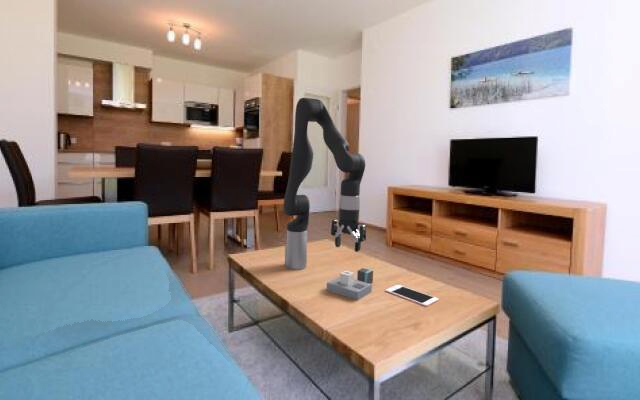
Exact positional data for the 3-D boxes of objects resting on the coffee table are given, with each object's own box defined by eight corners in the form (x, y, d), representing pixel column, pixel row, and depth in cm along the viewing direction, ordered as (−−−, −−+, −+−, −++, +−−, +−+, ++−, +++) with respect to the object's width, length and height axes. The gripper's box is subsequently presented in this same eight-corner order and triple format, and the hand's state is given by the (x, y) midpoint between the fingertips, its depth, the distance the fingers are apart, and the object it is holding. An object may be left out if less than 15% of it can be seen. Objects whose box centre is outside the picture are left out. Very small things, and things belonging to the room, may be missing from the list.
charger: (339, 290, 132) (339, 272, 131) (345, 287, 135) (345, 270, 134) (348, 293, 130) (348, 275, 129) (353, 290, 133) (354, 272, 132)
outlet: (326, 290, 132) (326, 282, 132) (341, 282, 140) (341, 275, 140) (357, 300, 124) (358, 291, 123) (371, 291, 132) (371, 284, 131)
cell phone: (397, 286, 139) (397, 284, 139) (439, 301, 126) (439, 298, 126) (384, 292, 133) (384, 289, 133) (426, 307, 120) (426, 305, 120)
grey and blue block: (357, 282, 141) (357, 270, 141) (362, 279, 145) (362, 267, 144) (367, 285, 138) (368, 273, 138) (372, 282, 142) (373, 270, 141)
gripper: (328, 205, 130) (326, 247, 132) (360, 211, 121) (358, 255, 124) (339, 203, 136) (337, 243, 138) (371, 208, 127) (368, 250, 130)
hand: (347, 249), depth 131 cm, fingers open, 8 cm apart
